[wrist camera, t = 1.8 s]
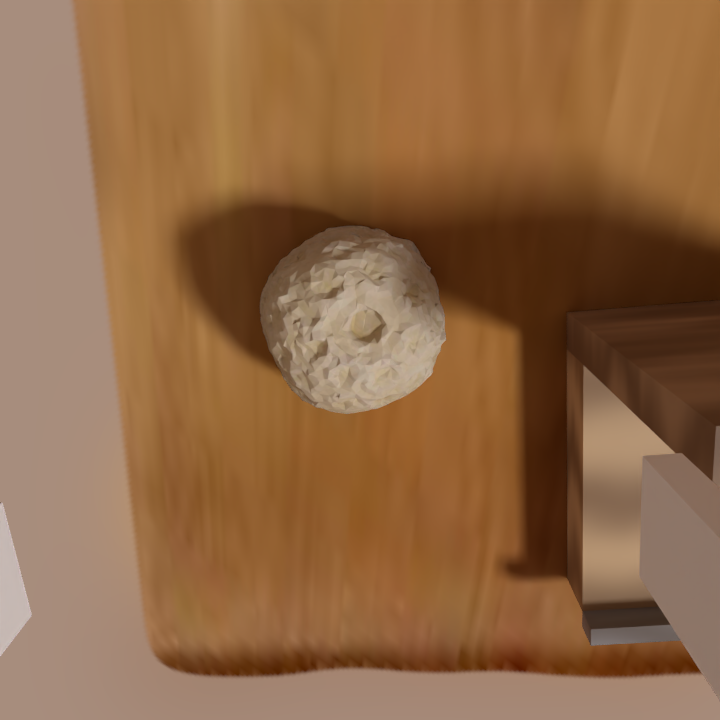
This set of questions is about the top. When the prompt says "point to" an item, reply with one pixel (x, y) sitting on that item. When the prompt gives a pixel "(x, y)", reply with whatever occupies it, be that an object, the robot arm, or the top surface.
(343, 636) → the top surface
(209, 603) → the top surface
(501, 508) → the top surface
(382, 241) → the sponge
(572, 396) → the board
